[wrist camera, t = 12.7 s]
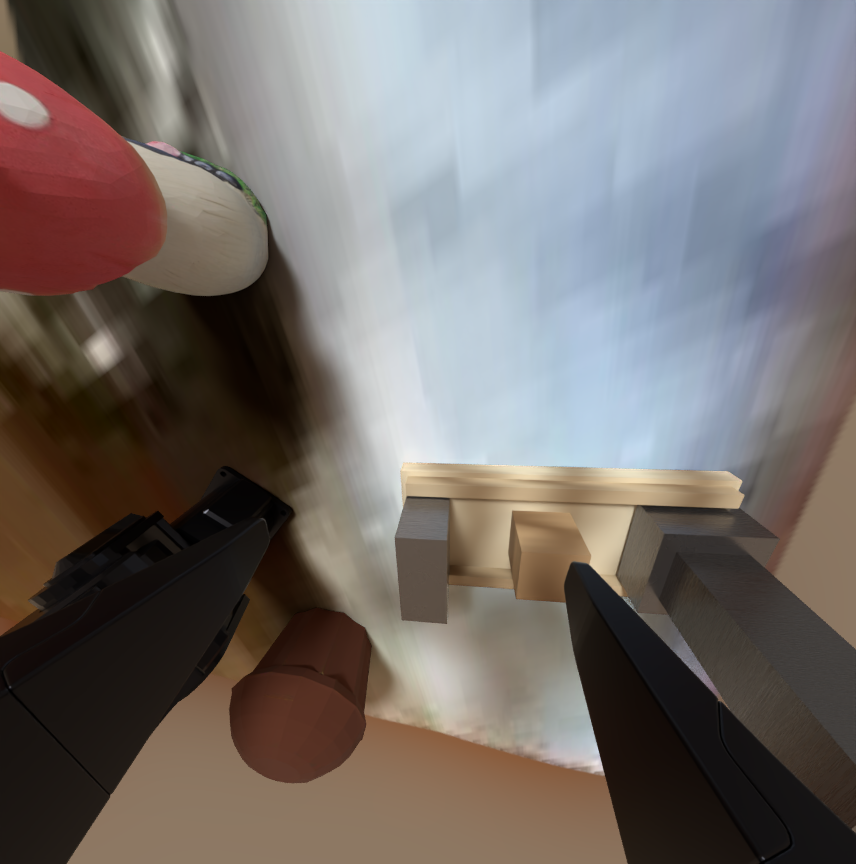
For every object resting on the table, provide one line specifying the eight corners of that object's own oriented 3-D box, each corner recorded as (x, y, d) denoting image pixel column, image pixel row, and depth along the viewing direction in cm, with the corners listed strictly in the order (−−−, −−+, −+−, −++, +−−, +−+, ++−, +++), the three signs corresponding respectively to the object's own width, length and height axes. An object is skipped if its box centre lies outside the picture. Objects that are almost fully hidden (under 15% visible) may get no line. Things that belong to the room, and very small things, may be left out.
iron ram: (616, 575, 23) (775, 862, 12) (638, 502, 21) (870, 775, 9) (703, 580, 23) (966, 890, 11) (736, 506, 20) (1128, 805, 8)
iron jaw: (412, 562, 25) (401, 620, 21) (408, 489, 23) (394, 537, 18) (449, 564, 25) (446, 623, 20) (450, 490, 22) (446, 540, 18)
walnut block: (507, 553, 24) (516, 599, 20) (512, 510, 22) (521, 551, 19) (562, 555, 24) (580, 603, 20) (570, 512, 22) (591, 555, 18)
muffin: (402, 629, 31) (375, 770, 22) (362, 684, 35) (326, 820, 26) (289, 581, 30) (212, 707, 21) (263, 643, 34) (189, 770, 25)
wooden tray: (410, 563, 27) (405, 585, 25) (403, 462, 23) (397, 478, 21) (683, 580, 25) (702, 605, 23) (727, 471, 21) (755, 490, 19)
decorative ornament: (310, 217, 18) (-235, -69, 4) (278, 325, 20) (-115, 385, 6) (149, 124, 17) (-1337, -696, 3) (137, 250, 19) (-677, 132, 5)
